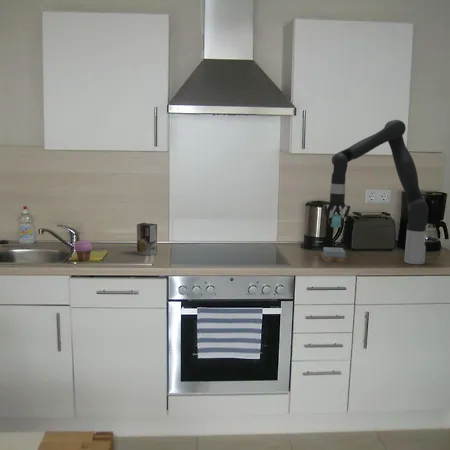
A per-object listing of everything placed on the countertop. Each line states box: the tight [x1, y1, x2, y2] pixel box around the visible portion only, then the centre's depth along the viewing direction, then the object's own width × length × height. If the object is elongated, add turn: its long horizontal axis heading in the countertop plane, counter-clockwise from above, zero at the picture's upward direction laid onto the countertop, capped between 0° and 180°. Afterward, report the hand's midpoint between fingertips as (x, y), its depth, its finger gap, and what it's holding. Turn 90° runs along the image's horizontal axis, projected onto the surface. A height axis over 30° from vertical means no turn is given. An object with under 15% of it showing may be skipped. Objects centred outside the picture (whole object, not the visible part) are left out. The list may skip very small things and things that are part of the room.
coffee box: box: [136, 222, 158, 256], centre depth 289 cm, size 9×6×16 cm
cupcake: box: [73, 240, 94, 262], centre depth 273 cm, size 9×9×10 cm
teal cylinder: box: [330, 213, 342, 228], centre depth 282 cm, size 5×5×6 cm
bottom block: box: [319, 251, 349, 263], centre depth 286 cm, size 12×12×3 cm
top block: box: [322, 246, 346, 258], centre depth 285 cm, size 10×10×3 cm
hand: (335, 224), depth 283 cm, fingers closed on teal cylinder, 5 cm apart
